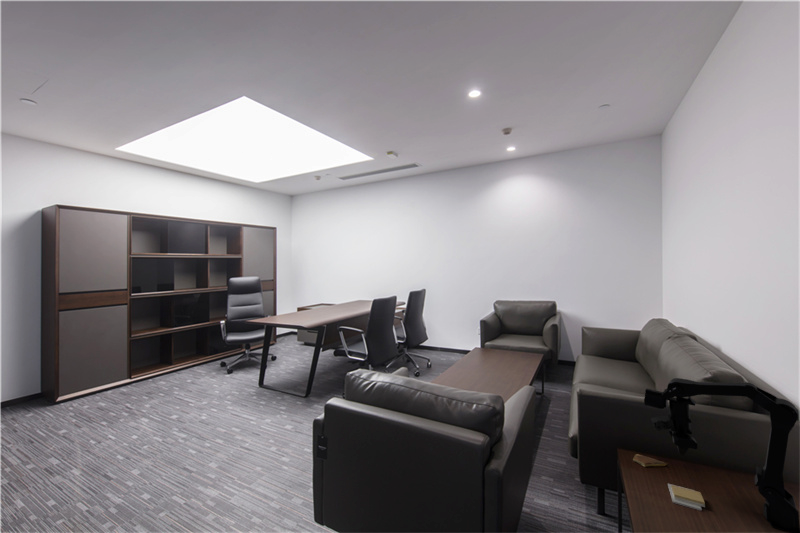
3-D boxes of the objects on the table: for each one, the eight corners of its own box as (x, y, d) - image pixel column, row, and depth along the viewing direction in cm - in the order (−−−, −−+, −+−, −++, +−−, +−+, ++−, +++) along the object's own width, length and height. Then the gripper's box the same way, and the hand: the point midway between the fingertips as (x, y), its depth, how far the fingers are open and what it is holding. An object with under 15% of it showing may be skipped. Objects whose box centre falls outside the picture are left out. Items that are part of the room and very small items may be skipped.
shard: (667, 466, 133) (667, 462, 133) (665, 475, 128) (665, 470, 128) (636, 456, 141) (635, 452, 141) (632, 464, 135) (632, 459, 136)
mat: (694, 491, 117) (693, 490, 117) (701, 510, 108) (701, 509, 108) (667, 485, 121) (667, 483, 121) (673, 502, 112) (673, 501, 112)
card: (700, 492, 114) (704, 502, 108) (700, 496, 113) (705, 507, 108) (671, 484, 118) (674, 494, 113) (671, 489, 118) (674, 498, 113)
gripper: (649, 400, 132) (651, 438, 131) (655, 418, 116) (657, 461, 115) (685, 406, 126) (687, 446, 125) (696, 425, 110) (698, 471, 109)
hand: (681, 455), depth 119 cm, fingers closed
